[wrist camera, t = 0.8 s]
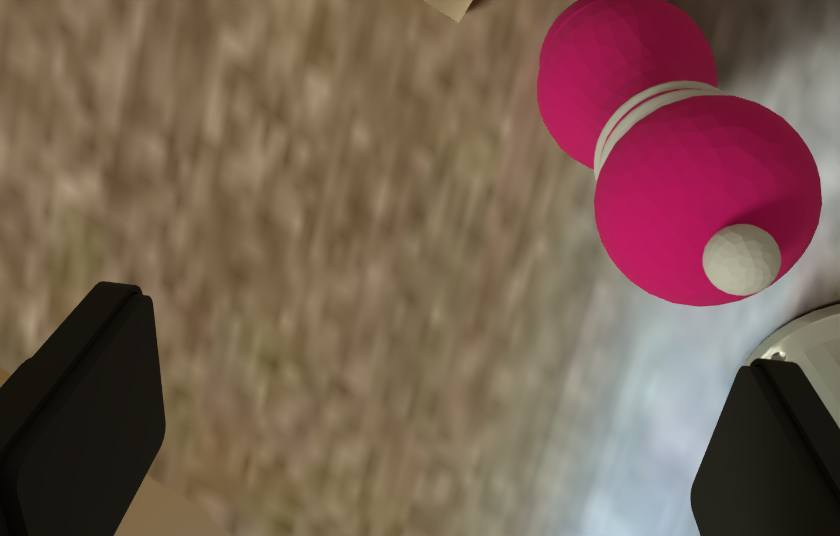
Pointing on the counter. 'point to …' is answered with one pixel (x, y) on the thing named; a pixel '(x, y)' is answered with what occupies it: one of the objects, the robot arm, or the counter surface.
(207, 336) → the counter surface
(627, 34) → the magenta skittle
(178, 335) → the counter surface
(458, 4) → the peg board
